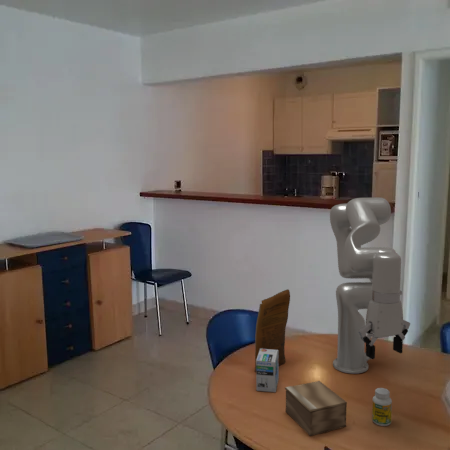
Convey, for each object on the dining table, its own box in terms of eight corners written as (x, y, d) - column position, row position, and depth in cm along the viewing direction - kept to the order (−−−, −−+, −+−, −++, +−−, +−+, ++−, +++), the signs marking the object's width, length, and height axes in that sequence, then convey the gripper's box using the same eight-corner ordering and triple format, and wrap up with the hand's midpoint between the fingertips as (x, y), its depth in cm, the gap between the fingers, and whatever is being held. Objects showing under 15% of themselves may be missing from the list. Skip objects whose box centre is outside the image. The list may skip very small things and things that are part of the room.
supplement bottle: (391, 418, 145) (392, 387, 144) (391, 427, 140) (392, 396, 139) (372, 415, 147) (373, 385, 145) (371, 425, 142) (372, 394, 140)
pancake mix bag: (295, 361, 185) (296, 289, 181) (261, 377, 172) (260, 300, 168) (282, 356, 190) (282, 286, 186) (247, 371, 177) (246, 296, 173)
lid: (319, 382, 153) (319, 380, 153) (346, 403, 140) (346, 401, 140) (285, 389, 149) (285, 387, 148) (310, 411, 136) (310, 409, 135)
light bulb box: (276, 393, 161) (275, 362, 160) (255, 391, 163) (255, 360, 161) (279, 378, 172) (279, 349, 170) (260, 376, 173) (259, 347, 172)
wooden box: (319, 403, 154) (319, 382, 153) (346, 426, 141) (346, 403, 140) (285, 411, 150) (285, 390, 149) (310, 436, 137) (310, 412, 136)
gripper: (400, 289, 144) (398, 345, 147) (352, 296, 138) (350, 354, 140) (419, 296, 137) (417, 354, 140) (369, 304, 131) (367, 364, 133)
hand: (384, 354), depth 140 cm, fingers open, 9 cm apart
